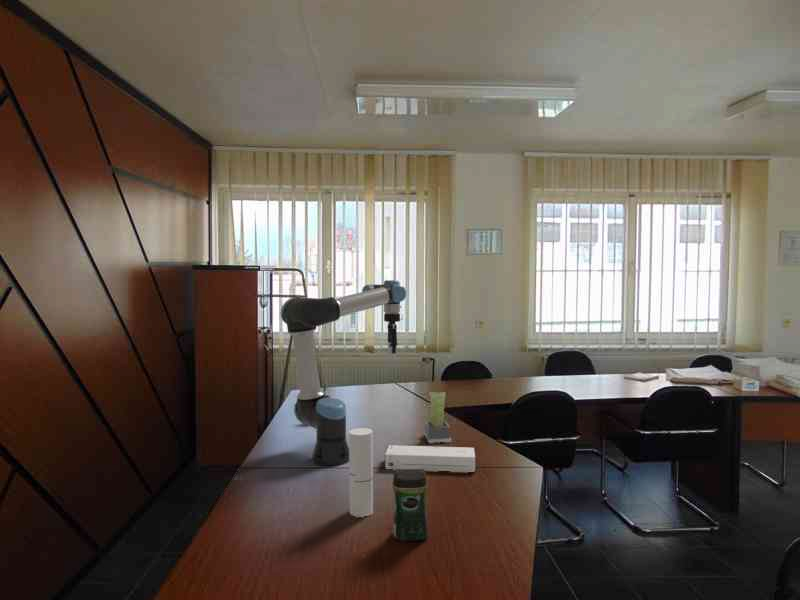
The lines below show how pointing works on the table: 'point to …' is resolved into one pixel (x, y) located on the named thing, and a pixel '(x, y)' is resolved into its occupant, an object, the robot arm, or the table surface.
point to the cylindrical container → (361, 472)
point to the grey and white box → (437, 433)
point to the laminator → (431, 458)
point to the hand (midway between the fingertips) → (392, 358)
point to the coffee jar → (410, 505)
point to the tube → (437, 408)
